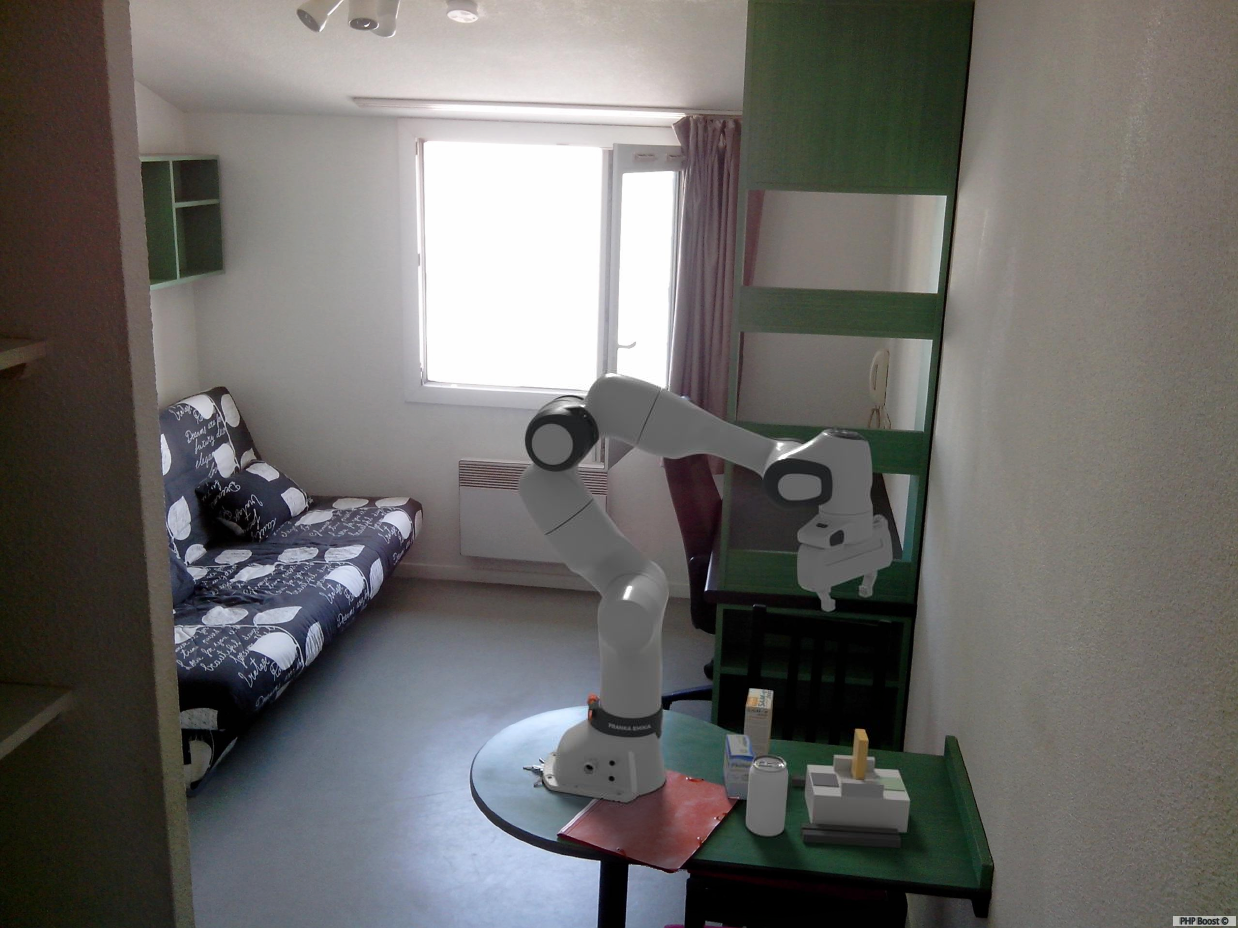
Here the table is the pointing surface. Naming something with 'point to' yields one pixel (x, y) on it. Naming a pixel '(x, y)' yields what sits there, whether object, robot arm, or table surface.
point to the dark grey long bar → (798, 780)
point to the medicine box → (737, 765)
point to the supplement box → (759, 720)
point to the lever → (859, 754)
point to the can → (767, 795)
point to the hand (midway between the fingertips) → (847, 602)
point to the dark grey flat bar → (850, 835)
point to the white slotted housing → (856, 796)
